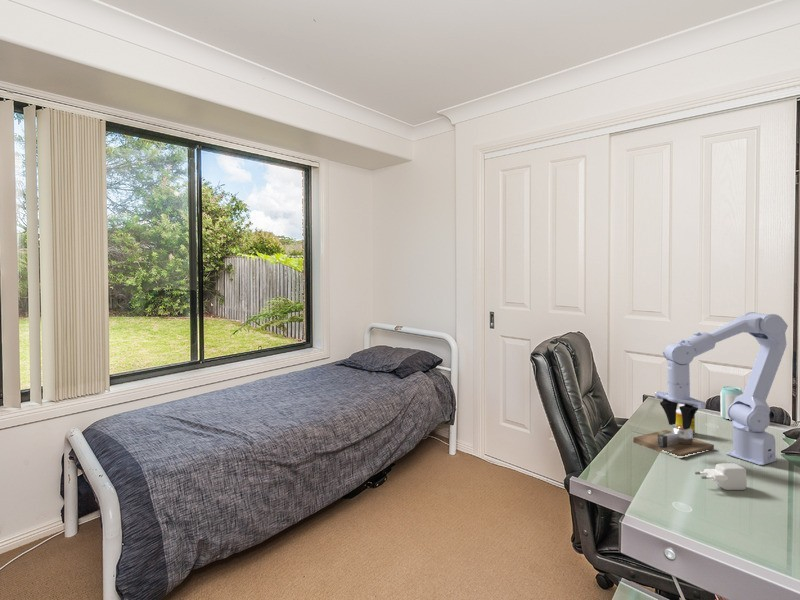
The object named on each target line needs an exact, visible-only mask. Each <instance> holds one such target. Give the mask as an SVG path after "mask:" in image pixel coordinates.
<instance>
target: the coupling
mask: <svg viewBox="0 0 800 600" xmlns="http://www.w3.org/2000/svg"><path fill="white" fill-rule="evenodd" d="M693 437H694V435H693V429H691V428H689V429H683V425H677V426H676V425H672V426H671V433H667V434H663V435H658V447H661V448H665V447H668V446H671V445H675V444H679V443H680V444H692V443H693V439H694V438H693Z"/></svg>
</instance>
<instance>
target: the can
mask: <svg viewBox="0 0 800 600" xmlns="http://www.w3.org/2000/svg"><path fill="white" fill-rule="evenodd" d="M743 392H744V391H742V388H740V387H737V386H722V387H721V390H720V392H719V394H720V396H719V397H720V398H719V399H720V402H719V403H720V404H719V407H720V417H721V418H723V419H724V418H725V419H724V420H726V419H729V420H728V421H730V420H731V419H730V418H729V416H728V414H727V410H728V407H729V406H730V405H731V404H732V403H733V402H734V400H735V398H736V397H737V396H739V395H741V394H743Z"/></svg>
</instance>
